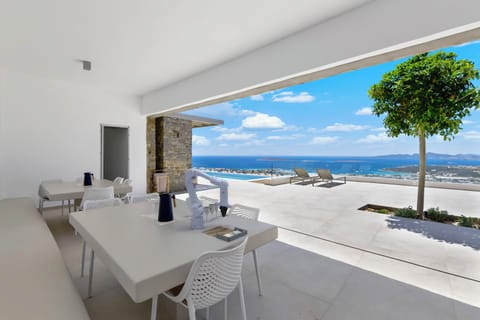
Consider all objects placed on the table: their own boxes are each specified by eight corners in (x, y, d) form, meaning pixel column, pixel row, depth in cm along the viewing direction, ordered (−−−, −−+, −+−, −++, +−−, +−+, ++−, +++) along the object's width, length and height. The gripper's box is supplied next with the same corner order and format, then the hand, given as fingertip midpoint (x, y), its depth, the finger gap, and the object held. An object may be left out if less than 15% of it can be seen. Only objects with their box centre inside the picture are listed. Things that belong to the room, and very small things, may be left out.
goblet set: (207, 223, 178) (207, 206, 177) (202, 222, 181) (202, 205, 181) (229, 215, 200) (229, 200, 200) (224, 214, 204) (224, 200, 203)
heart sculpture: (203, 219, 190) (203, 197, 189) (199, 220, 186) (199, 198, 185) (189, 216, 198) (189, 195, 197) (185, 217, 193) (185, 196, 193)
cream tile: (222, 238, 145) (222, 235, 145) (227, 236, 149) (227, 233, 148) (228, 240, 142) (228, 237, 142) (232, 238, 146) (232, 235, 146)
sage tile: (232, 234, 152) (232, 231, 152) (237, 233, 155) (237, 230, 155) (236, 236, 149) (236, 233, 149) (241, 235, 152) (241, 232, 151)
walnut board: (200, 233, 155) (200, 232, 155) (219, 227, 169) (219, 225, 169) (216, 239, 145) (216, 237, 145) (235, 231, 159) (235, 230, 159)
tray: (216, 239, 145) (216, 233, 145) (235, 231, 159) (235, 226, 159) (228, 243, 138) (228, 237, 138) (247, 235, 152) (247, 230, 152)
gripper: (235, 198, 161) (235, 217, 161) (220, 195, 170) (220, 213, 171) (228, 199, 156) (228, 219, 156) (213, 197, 165) (213, 215, 165)
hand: (223, 216), depth 163 cm, fingers closed
